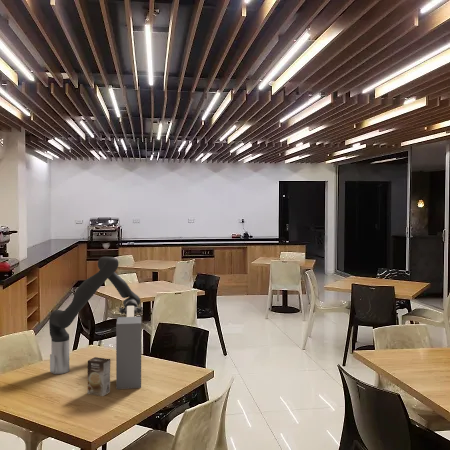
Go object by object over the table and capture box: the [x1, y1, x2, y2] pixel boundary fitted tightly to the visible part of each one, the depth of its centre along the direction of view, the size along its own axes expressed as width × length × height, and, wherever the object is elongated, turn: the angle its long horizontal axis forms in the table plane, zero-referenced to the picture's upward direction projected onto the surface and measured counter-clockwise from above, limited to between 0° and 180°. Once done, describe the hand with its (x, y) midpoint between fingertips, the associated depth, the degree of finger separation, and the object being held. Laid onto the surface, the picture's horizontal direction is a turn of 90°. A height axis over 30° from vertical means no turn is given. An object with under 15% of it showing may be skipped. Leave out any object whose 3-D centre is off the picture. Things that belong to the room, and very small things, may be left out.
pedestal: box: [115, 316, 142, 390], centre depth 243 cm, size 16×12×32 cm
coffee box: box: [87, 356, 111, 397], centre depth 229 cm, size 9×6×16 cm
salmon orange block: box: [126, 306, 135, 317], centre depth 265 cm, size 19×7×6 cm, turn 10°
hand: (130, 312), depth 268 cm, fingers closed on salmon orange block, 4 cm apart
